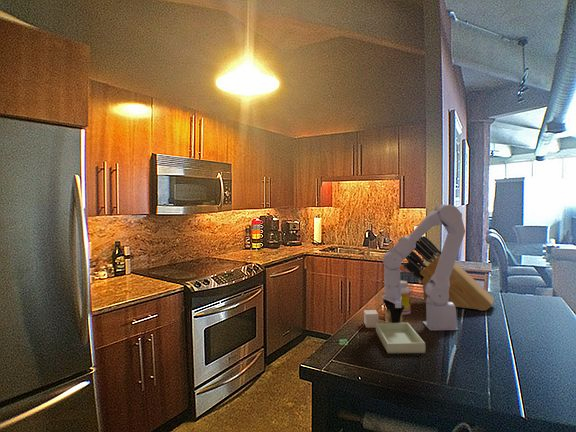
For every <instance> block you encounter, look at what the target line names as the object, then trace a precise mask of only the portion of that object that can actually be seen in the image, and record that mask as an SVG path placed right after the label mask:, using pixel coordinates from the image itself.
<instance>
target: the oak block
mask: <svg viewBox="0 0 576 432" xmlns="http://www.w3.org/2000/svg"><path fill="white" fill-rule="evenodd" d="M384 314H385V315H384V318H385V319H384V320H385V322H384V323H392V318H391V313H390V310H389V309H384ZM399 323H404V322H403V315H402V314H401V317H400V322H399Z"/></svg>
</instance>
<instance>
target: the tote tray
mask: <svg viewBox="0 0 576 432" xmlns="http://www.w3.org/2000/svg"><path fill="white" fill-rule="evenodd" d="M375 332H376V335H377V336H378V338H379V340H380V342H381V343H382V346H383V348H384V349H385V351H386V352H387V354H393V355H394V354H426V349H427V348H426V342H425V341H424V339H422V337H421V336H420V335H419V334H418V333H417V332H416V330H415V329H414V328H413V327H412V325H411V324H410V323H409V322H403V323H386V322H379V323H376V327H375Z"/></svg>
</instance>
